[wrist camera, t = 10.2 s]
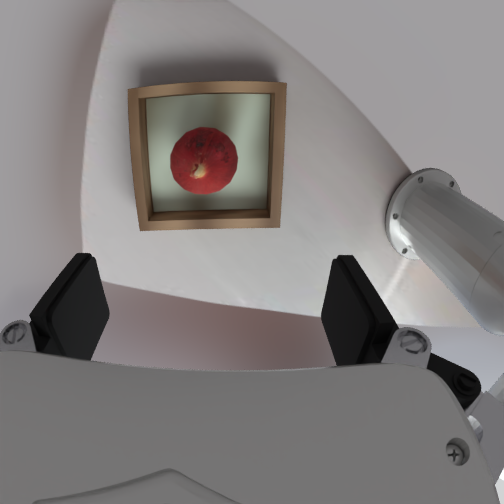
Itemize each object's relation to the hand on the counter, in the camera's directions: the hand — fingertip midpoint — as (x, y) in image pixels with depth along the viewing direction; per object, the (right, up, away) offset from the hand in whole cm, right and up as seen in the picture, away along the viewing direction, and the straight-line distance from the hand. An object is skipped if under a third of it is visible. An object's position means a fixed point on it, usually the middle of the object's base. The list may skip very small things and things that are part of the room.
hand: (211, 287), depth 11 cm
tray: (-3, +11, +17) cm, 21 cm away
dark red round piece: (-3, +11, +17) cm, 20 cm away
